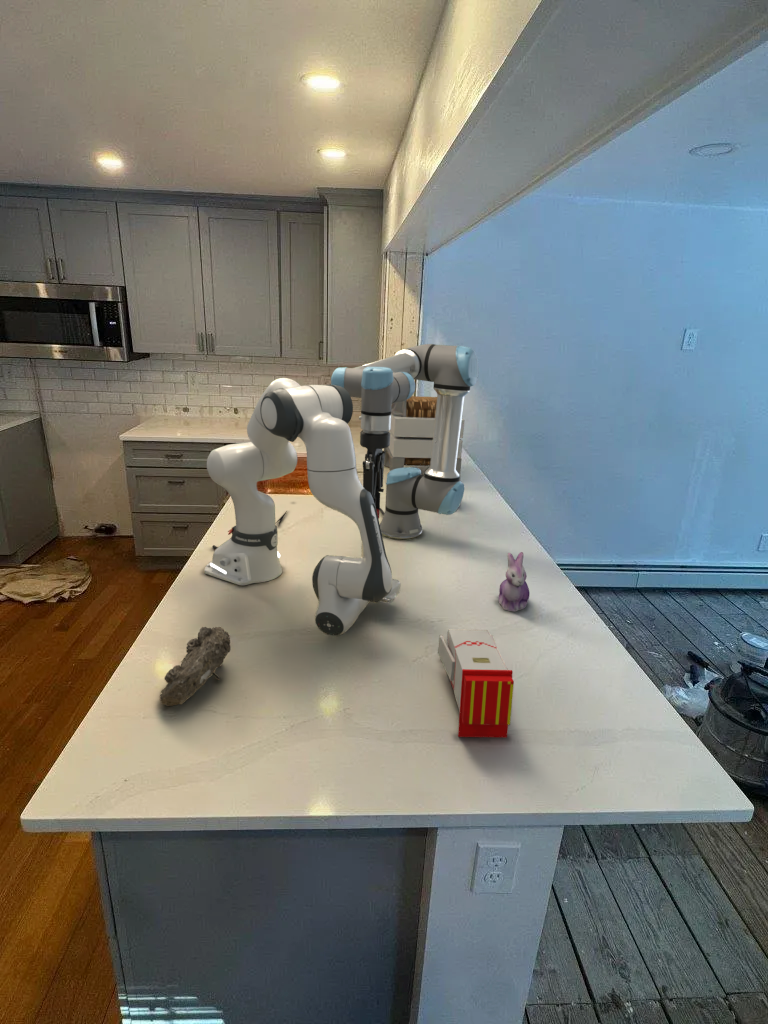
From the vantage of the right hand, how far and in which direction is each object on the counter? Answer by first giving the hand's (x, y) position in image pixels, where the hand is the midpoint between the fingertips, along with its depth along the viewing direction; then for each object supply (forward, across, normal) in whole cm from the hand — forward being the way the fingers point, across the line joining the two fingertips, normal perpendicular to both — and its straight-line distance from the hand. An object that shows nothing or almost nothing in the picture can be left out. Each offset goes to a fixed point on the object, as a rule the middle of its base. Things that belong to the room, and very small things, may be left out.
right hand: (372, 518), depth 150 cm
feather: (+22, -50, -47) cm, 72 cm away
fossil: (+22, +47, -23) cm, 57 cm away
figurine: (+22, -7, +39) cm, 46 cm away
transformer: (+22, -126, -10) cm, 128 cm away
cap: (-2, 0, 0) cm, 2 cm away
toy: (+22, +35, +32) cm, 52 cm away
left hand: (+16, -1, 0) cm, 16 cm away
